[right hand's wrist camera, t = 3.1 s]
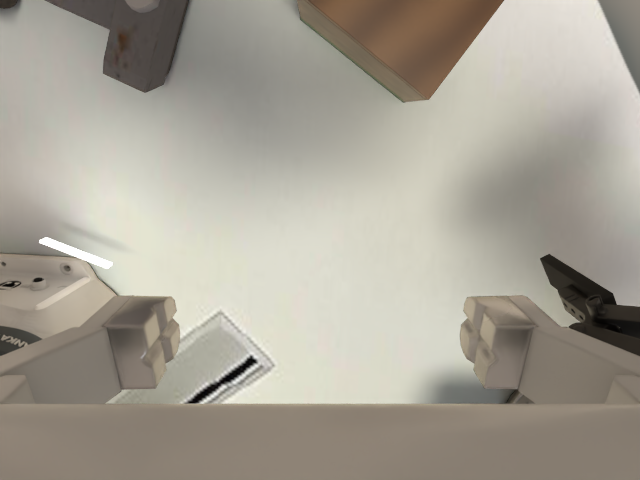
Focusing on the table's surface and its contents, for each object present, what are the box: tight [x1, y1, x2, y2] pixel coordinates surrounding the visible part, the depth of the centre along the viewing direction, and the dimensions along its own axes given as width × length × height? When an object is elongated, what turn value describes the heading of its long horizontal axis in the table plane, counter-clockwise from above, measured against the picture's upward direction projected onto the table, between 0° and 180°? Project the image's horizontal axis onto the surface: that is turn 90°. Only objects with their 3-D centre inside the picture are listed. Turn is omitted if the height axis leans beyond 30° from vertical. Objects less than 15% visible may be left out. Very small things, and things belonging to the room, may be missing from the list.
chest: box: [297, 0, 426, 102], centre depth 33 cm, size 14×10×9 cm
